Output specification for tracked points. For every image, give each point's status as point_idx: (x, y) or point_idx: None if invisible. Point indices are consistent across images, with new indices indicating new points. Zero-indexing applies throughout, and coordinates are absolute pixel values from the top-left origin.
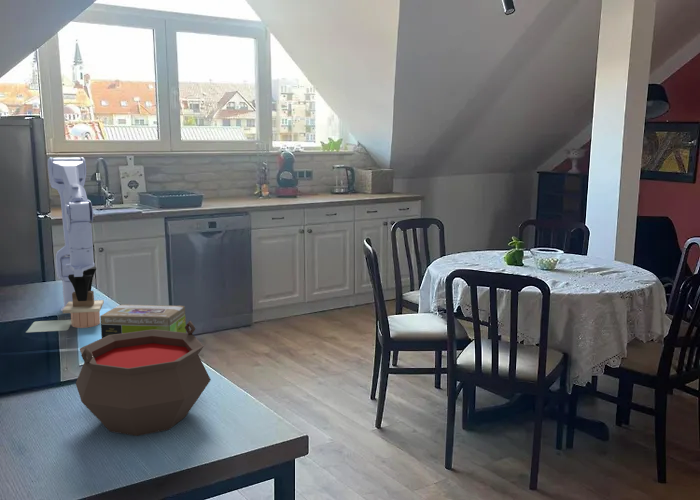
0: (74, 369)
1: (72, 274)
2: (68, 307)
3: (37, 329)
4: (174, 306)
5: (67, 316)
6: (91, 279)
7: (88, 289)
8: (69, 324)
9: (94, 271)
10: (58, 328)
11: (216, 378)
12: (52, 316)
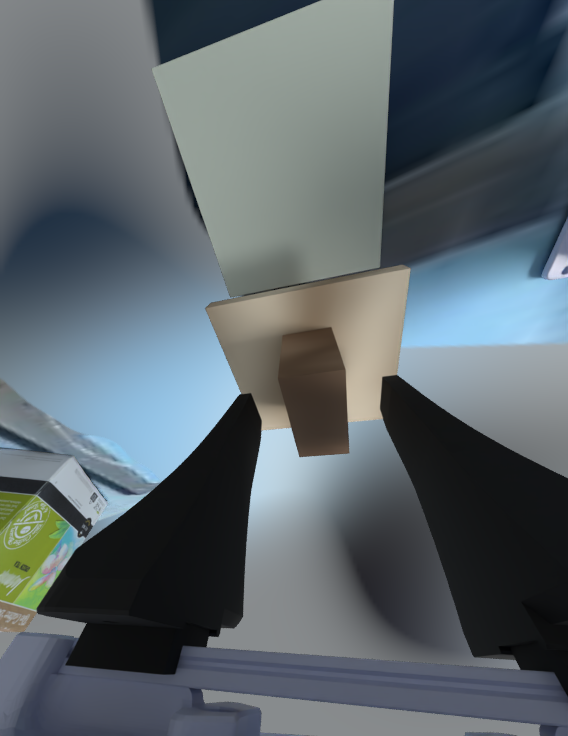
0: (4, 400)
1: (149, 622)
2: (266, 318)
3: (217, 131)
4: (2, 631)
5: (490, 190)
6: (425, 509)
7: (392, 429)
8: (303, 277)
9: (458, 610)
10: (245, 251)
11: (101, 516)
12: (546, 63)
